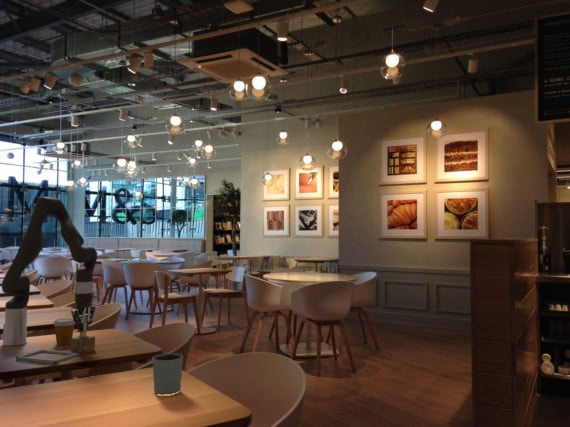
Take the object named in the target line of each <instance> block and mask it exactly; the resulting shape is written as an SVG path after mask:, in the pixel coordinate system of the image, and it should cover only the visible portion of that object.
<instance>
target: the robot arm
mask: <svg viewBox="0 0 570 427" xmlns="http://www.w3.org/2000/svg"><path fill="white" fill-rule="evenodd" d="M46 218H55V219H56V221H57V222H58V223H59V225H60V235H61V237H62V239H63V240H64V242H65V243H66V245H67V246H68V248H69V252H70V255H71V259H73V261H74V262H76V263H79V264H83V265H82V266H81V267H80V268H78V269H76V272H75V286H74V302H75V304H76V305H75V309H72V310H71V311H70V312H71V316H72V319H74V322H75V323H77V332H79V333H80V332H82V331H83V320H84V317H85V316H87V331H88V330H89V329H90V328H89V326H90V321H91V320H93V317H94V315H95V311H96V309H97V308H96V306H93V305H92V303H93V302H94V282H93V280H94V270H95V266H96V264H97V260H98V252H97V250H96V249H95V247H93V246H83V245H84V243H85V240H84V236H82V235H81V233H80V232H79V230H78V229H77V228H76V226H75V225H74V223H73V221H72V218H71V217H70V214H69V213H68V211H67V209H66V206H65V205H64V203H63V201H62V200H61V199H60V198H57V197H50V196H42V197H41V196H40V197H39V198H38V199H37V201H36V202H35V204H34V208H33V210H32V214H31V218H30V221H29V223H28V227H27V229H26V230H25V234H24V236H23V238H22V240H21V242H20V244H19V247H18V250H17V252H16V254H15V256H14V259H13V260H12V263H11V264H10V267H9V268H8V270H7V271H6V273H5V275H4V277H3V279H2V283H1V291H2V293H4V294H6V295H14V296H13V297H12V298H11V299H9V300H8V301H7V302H5V307H4V308H5V312H4V315H5V318H4V324H3V329H2V345H4V346H8V347H9V346H10V347H11V346H13V347H14V346H21V345H25V344H27V331H28V329H27V328H28V326H27V325H28V303H29V300H30V291H31V280H30V278H29V276H28V275H27V274H26V273H23V272H24V271H25V270H26V269H27V268H28V266H30V265H31V264H32V263H33V262H34V261H35V260H36V259H37V258H38V257H39V255H40V253H41V251H42V250H43V247H44V243H45V239H44V233H43V224H44V221H45V220H46ZM80 318H81V320H80Z"/></svg>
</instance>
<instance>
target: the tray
mask: <svg viewBox="0 0 570 427" xmlns="http://www.w3.org/2000/svg"><path fill="white" fill-rule="evenodd" d="M42 353H45V354H54V355H64V356H63V357H59V358H55V359H50V358H38V357H31V356H35V355H38V354H42ZM78 356H80V354H79V353H76V352H71V351H64V350H54V349H53V350H52V349H39V350H34V351H31V352H28V353H25V354H21V355H18V356H15V361H16V362H20V363H32V364H42V365H50V366H56V365H58V364H59V363H60V362H64V361H66V360H70V359H72V358H75V357H78Z"/></svg>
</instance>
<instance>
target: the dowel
mask: <svg viewBox="0 0 570 427" xmlns="http://www.w3.org/2000/svg"><path fill="white" fill-rule="evenodd" d="M80 320H81V318H80ZM87 332H88V330H87V316H85V317H84V320H83V331H82V332H79V336H80V338H82V339H84V338H86V336H87Z"/></svg>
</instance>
